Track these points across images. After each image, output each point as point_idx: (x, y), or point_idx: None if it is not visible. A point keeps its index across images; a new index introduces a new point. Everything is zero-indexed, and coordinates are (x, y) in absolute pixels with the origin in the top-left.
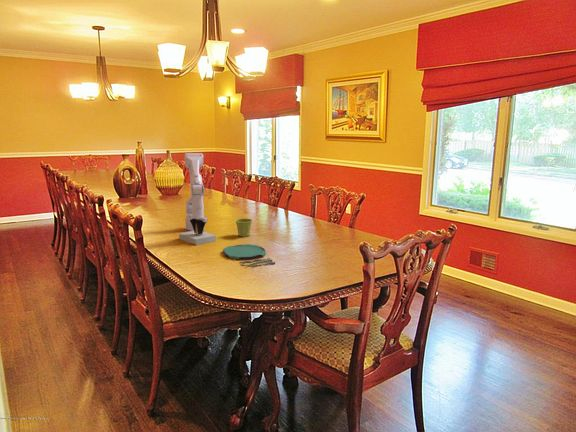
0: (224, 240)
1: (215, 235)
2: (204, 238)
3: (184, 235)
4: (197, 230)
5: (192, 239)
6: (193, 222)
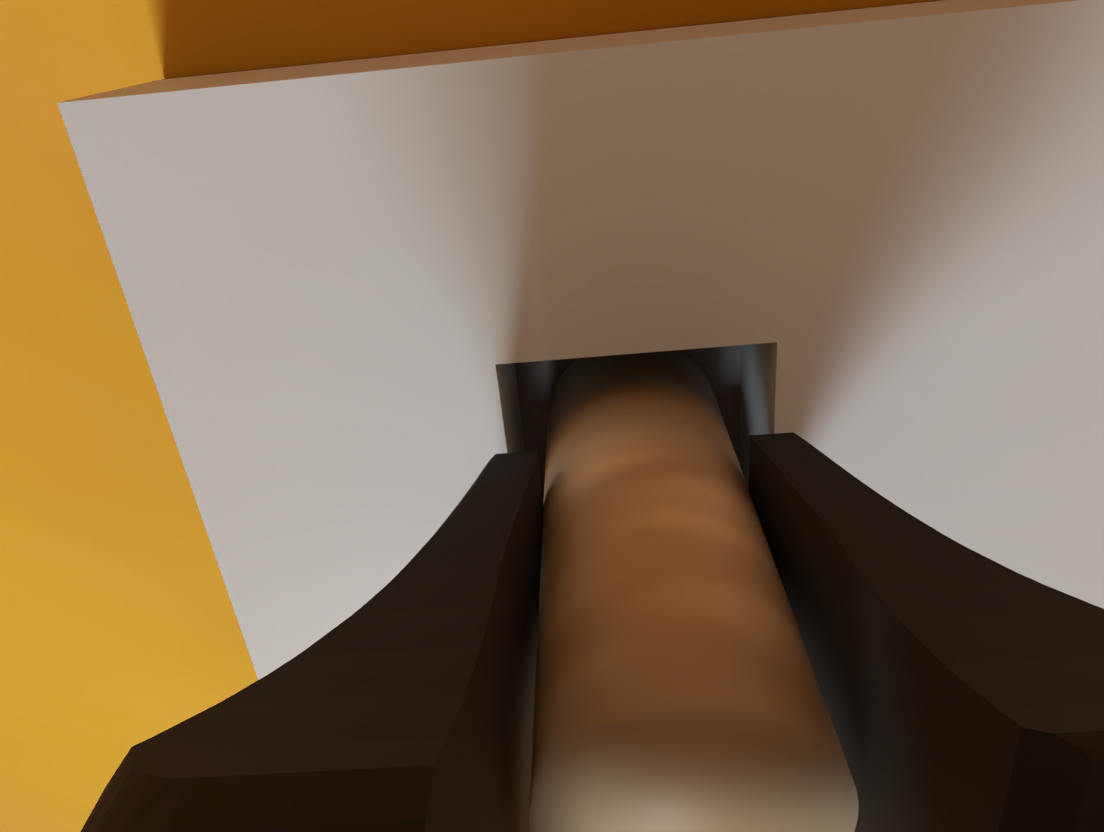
0: None
1: None
2: (184, 432)
3: (940, 15)
4: (590, 521)
5: (340, 72)
6: (941, 734)
